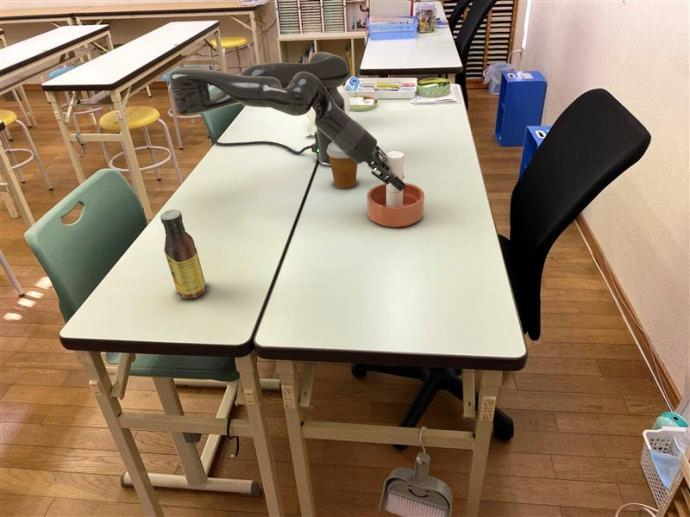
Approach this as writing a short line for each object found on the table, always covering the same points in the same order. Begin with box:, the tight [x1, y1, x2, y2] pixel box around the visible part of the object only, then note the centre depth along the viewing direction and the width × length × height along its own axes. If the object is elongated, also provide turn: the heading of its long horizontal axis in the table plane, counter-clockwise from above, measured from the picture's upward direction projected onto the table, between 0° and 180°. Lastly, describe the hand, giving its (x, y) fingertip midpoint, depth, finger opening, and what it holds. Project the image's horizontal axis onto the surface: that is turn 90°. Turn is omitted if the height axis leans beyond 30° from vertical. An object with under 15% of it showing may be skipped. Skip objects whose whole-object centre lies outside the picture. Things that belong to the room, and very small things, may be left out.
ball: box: [304, 84, 352, 138], centre depth 186 cm, size 17×25×24 cm
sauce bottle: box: [159, 208, 206, 300], centre depth 108 cm, size 6×6×20 cm
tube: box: [385, 150, 405, 207], centre depth 132 cm, size 4×4×15 cm
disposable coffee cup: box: [327, 142, 358, 189], centre depth 151 cm, size 10×10×12 cm
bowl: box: [366, 182, 425, 228], centre depth 135 cm, size 15×15×6 cm
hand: (402, 183), depth 132 cm, fingers closed on tube, 4 cm apart
